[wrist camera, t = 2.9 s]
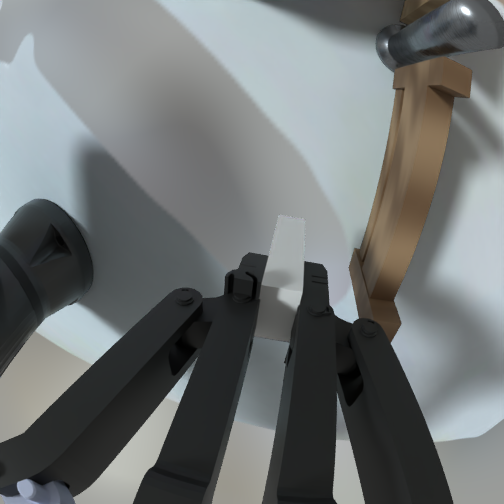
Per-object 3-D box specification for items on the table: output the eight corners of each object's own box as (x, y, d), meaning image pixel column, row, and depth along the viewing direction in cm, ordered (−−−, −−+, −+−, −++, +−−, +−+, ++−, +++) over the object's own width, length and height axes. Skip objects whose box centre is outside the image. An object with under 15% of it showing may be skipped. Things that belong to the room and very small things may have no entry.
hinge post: (369, 60, 16) (436, 26, 6) (382, 17, 14) (447, -39, 4) (418, 85, 16) (512, 84, 6) (430, 42, 14) (520, 17, 4)
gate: (391, 69, 15) (446, 54, 8) (415, 77, 15) (478, 70, 8) (348, 267, 24) (363, 342, 17) (368, 270, 24) (389, 344, 16)
